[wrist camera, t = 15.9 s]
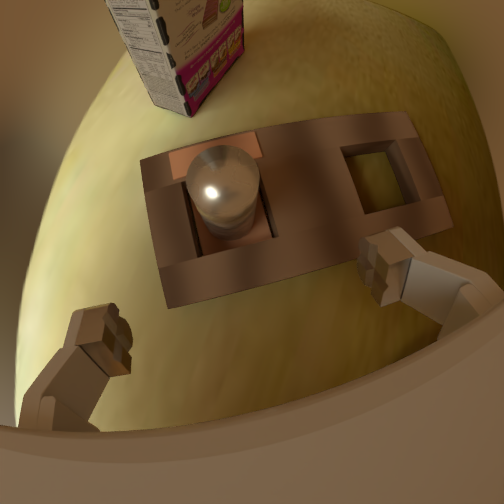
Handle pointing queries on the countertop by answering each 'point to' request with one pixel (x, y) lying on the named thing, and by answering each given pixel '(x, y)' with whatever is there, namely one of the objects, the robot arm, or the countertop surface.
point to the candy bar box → (180, 46)
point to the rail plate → (288, 204)
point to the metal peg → (224, 190)
